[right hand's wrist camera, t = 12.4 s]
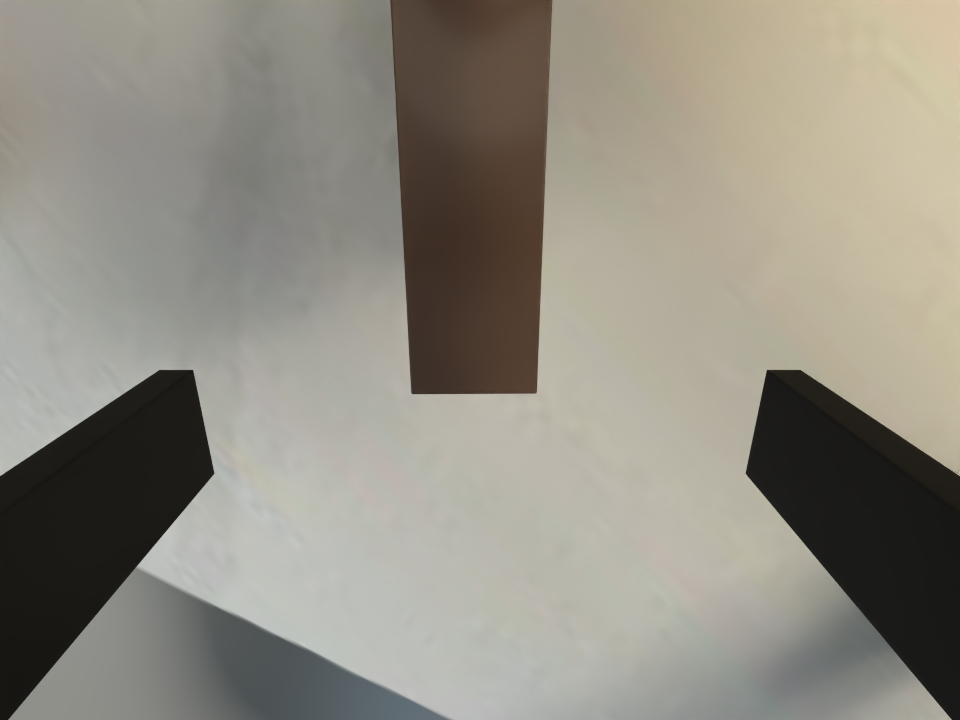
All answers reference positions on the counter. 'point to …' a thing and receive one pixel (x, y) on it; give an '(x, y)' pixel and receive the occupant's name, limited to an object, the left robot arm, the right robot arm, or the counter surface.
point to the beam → (472, 188)
